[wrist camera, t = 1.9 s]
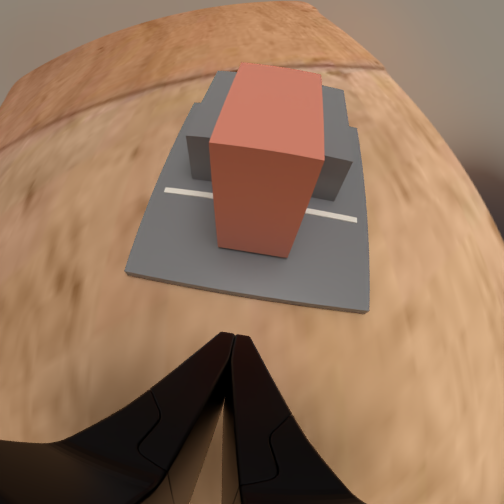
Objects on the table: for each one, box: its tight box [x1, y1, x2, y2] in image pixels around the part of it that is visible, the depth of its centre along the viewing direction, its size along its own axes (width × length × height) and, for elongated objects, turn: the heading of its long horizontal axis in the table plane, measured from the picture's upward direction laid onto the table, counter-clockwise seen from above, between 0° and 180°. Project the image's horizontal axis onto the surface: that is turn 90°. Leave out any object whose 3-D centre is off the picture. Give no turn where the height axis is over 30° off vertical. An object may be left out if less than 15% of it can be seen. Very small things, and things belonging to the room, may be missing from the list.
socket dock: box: [125, 71, 370, 314], centre depth 22 cm, size 20×18×6 cm
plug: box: [209, 62, 325, 258], centre depth 18 cm, size 8×5×10 cm, turn 171°
